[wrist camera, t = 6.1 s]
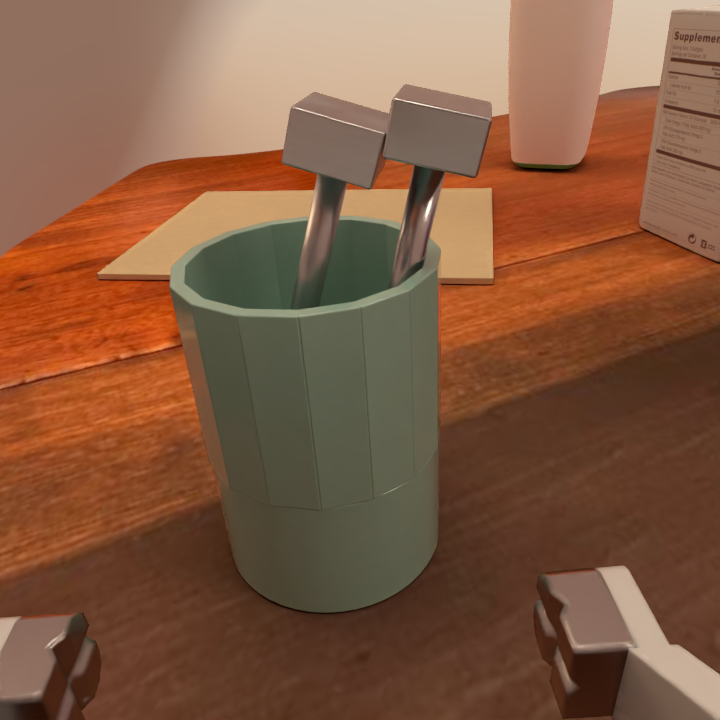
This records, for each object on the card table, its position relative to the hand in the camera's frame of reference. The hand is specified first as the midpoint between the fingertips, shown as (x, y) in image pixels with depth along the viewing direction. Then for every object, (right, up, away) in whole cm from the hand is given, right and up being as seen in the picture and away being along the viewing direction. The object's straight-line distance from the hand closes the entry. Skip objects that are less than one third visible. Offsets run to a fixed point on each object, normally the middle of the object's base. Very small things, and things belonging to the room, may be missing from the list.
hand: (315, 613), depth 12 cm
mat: (-2, +14, +34) cm, 36 cm away
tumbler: (0, -1, +9) cm, 9 cm away
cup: (+18, +22, +46) cm, 54 cm away
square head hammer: (-2, +3, +7) cm, 8 cm away
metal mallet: (+1, +3, +6) cm, 7 cm away
